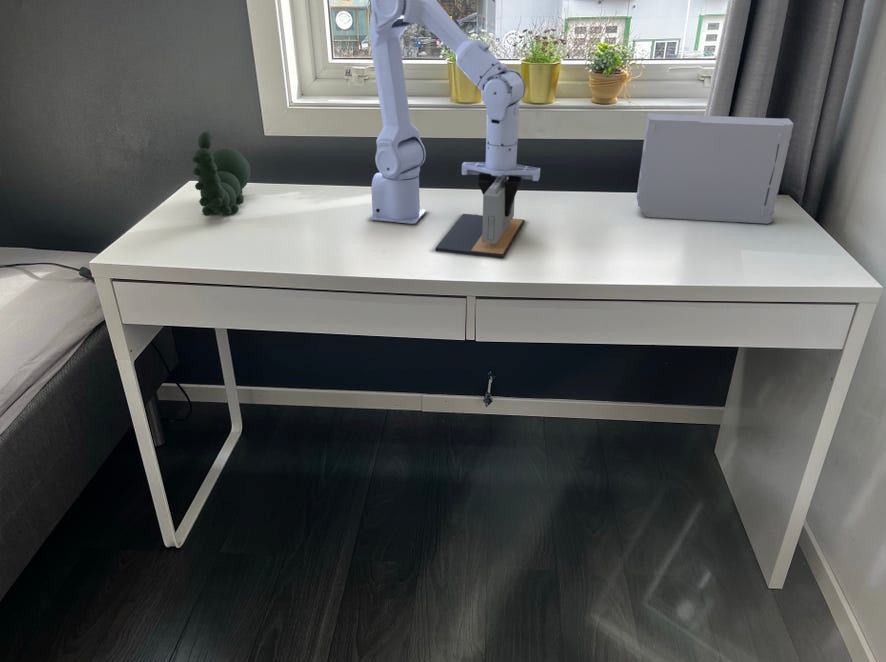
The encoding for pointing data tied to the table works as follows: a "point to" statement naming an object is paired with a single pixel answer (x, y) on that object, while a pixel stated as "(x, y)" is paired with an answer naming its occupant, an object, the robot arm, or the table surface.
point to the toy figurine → (220, 177)
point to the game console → (712, 167)
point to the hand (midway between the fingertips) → (499, 214)
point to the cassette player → (495, 211)
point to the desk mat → (477, 238)
